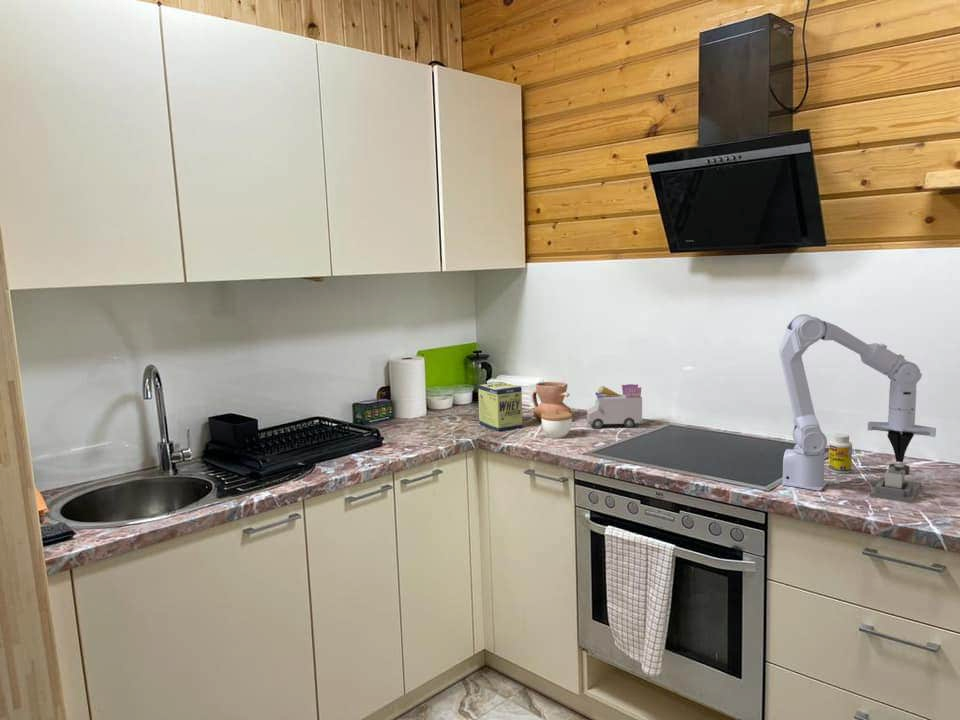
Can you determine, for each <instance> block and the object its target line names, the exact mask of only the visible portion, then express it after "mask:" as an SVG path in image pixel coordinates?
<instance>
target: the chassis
mask: <svg viewBox="0 0 960 720" xmlns="http://www.w3.org/2000/svg"><path fill="white" fill-rule="evenodd" d="M922 483H923V482H919V481H911V480H906V479H904V490H901V489H895V488H888V487H885V477H884V476H881V477H880V478H879V479H878V480H877V482H876V483H875V485H874V486H873V487H872V489H871V491H870V492H869V497H871V498H877V499H882V500H883V499H884V500H890V501H895V502H902V503H903V502H904V503H909V504H913V503H914V502H915V500H916V498H917V496H918V494H919V492H920V490H921V488H922Z"/></svg>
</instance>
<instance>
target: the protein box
mask: <svg viewBox="0 0 960 720" xmlns="http://www.w3.org/2000/svg"><path fill="white" fill-rule="evenodd" d="M477 386H478V418H479V419H478V420H479V423H478V424H479V425H480V426H484V427H485V428H488V429H490V430H492V429H493V431H495V430H496V431H495V432H497V431H498V433H499V431H501V432H506V431H505V430H507V431H512V430H511V429H514V430H518V429H517V428H521V429H523V399H522V397H523V396H522V395H523V394H522V391H523V390H522V389H523V388H522V386H519V385H514V384H512V383H508V382H503V381H497V382H489V383H482V384H481V383H480V384H477Z"/></svg>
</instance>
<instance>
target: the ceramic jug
mask: <svg viewBox="0 0 960 720" xmlns="http://www.w3.org/2000/svg"><path fill="white" fill-rule="evenodd" d="M535 388H536V389H535V390H533V392H532V395H531V399H532V403H533V405H534V409H533V416H534V417H535V418H536V419H537V420H539V421H541V414H542V413H545V412H551V411H555V409H557V410H558V411H564V412H569V413H571V414H572V409H571V408H570V407H569V406H568V405H567V404H565V403H564V399H565V398H569V396H571V394H570V393H569V392H567V390H568V383H567V382H562V381H560V382H559V381H540V382H537V383H535ZM537 395H538V398H539V401H540V404H539V403H538V398H537Z"/></svg>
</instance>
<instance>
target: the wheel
mask: <svg viewBox="0 0 960 720" xmlns="http://www.w3.org/2000/svg"><path fill="white" fill-rule="evenodd" d="M890 467H897V468H902V470H905V476H906V475H909V474H910V469H911V468H910V466H909V465H907V464H904V463H890V464H888V468H890Z"/></svg>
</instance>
